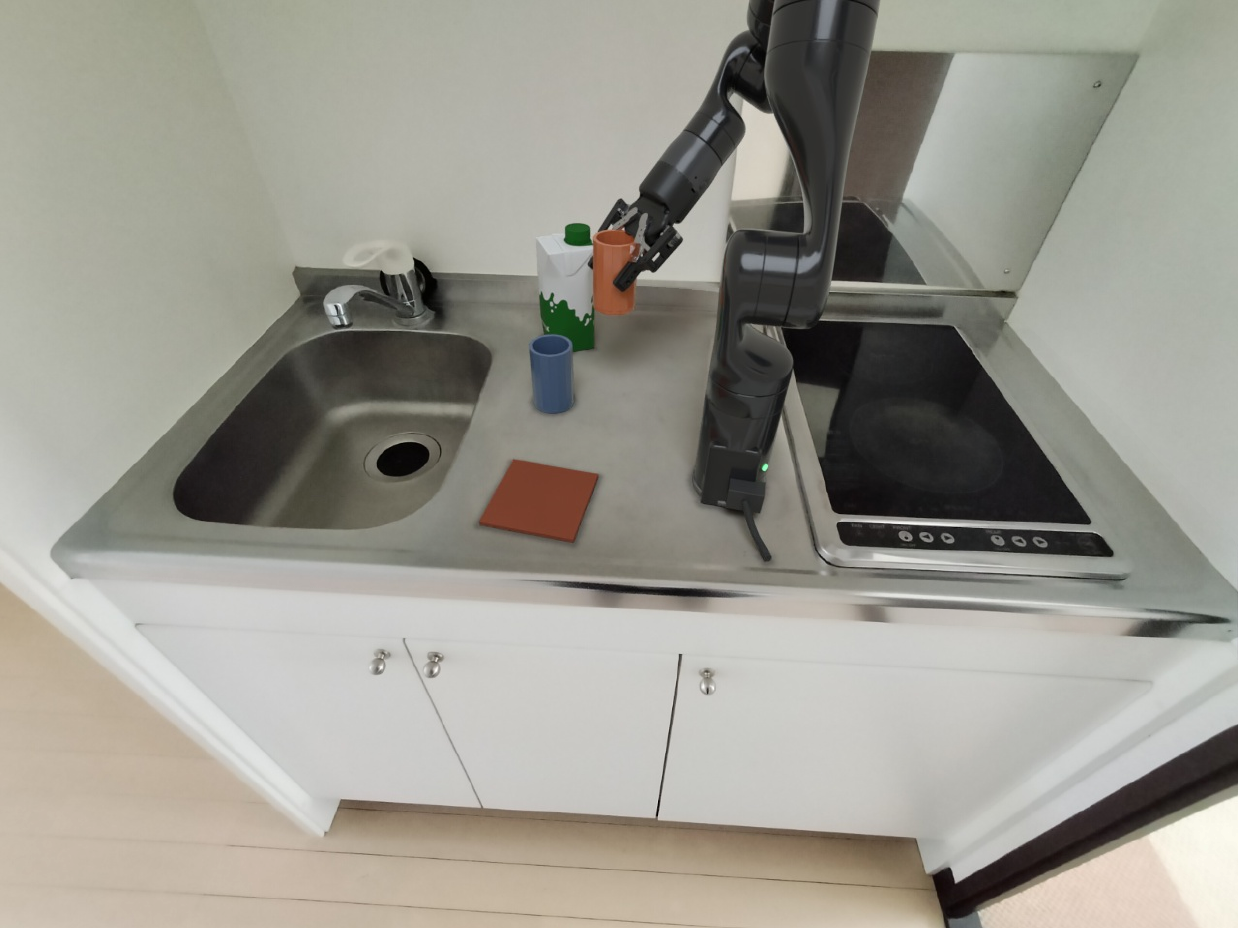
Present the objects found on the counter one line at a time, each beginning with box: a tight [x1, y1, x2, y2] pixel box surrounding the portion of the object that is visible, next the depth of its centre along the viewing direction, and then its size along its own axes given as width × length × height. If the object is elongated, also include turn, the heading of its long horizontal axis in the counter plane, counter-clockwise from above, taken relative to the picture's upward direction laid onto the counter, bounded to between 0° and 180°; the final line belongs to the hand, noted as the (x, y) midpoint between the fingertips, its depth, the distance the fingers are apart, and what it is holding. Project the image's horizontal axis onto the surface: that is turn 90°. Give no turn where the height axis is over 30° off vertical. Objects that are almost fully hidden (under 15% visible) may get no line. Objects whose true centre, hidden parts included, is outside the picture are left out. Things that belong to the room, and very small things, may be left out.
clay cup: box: [592, 229, 638, 316], centre depth 85 cm, size 6×6×10 cm
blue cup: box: [528, 334, 575, 414], centre depth 90 cm, size 6×6×10 cm
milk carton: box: [535, 222, 595, 353], centre depth 100 cm, size 9×9×20 cm
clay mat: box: [478, 458, 599, 544], centre depth 77 cm, size 12×12×1 cm
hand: (604, 278), depth 84 cm, fingers closed on clay cup, 6 cm apart
